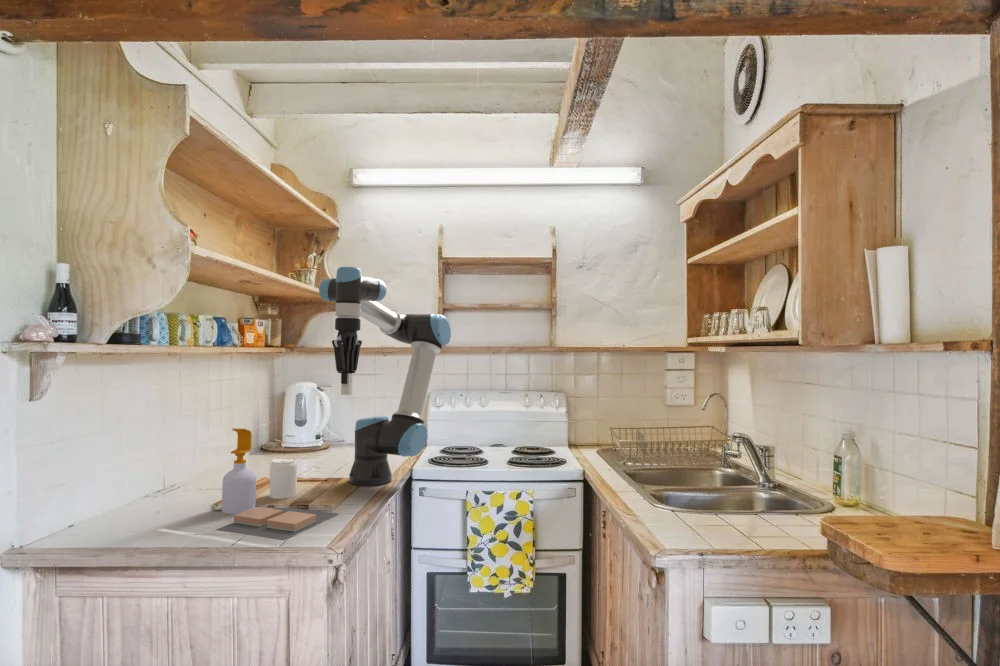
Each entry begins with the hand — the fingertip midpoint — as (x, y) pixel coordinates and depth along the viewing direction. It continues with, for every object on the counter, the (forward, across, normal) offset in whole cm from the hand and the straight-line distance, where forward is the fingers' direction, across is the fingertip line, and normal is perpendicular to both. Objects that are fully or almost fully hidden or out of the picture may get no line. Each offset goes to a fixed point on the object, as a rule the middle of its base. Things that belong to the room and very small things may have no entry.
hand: (346, 394), depth 179 cm
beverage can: (+35, -2, -24) cm, 42 cm away
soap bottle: (+35, +15, -26) cm, 46 cm away
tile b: (+33, +17, -13) cm, 39 cm away
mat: (+34, +20, -7) cm, 40 cm away
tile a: (+33, +17, -2) cm, 37 cm away
